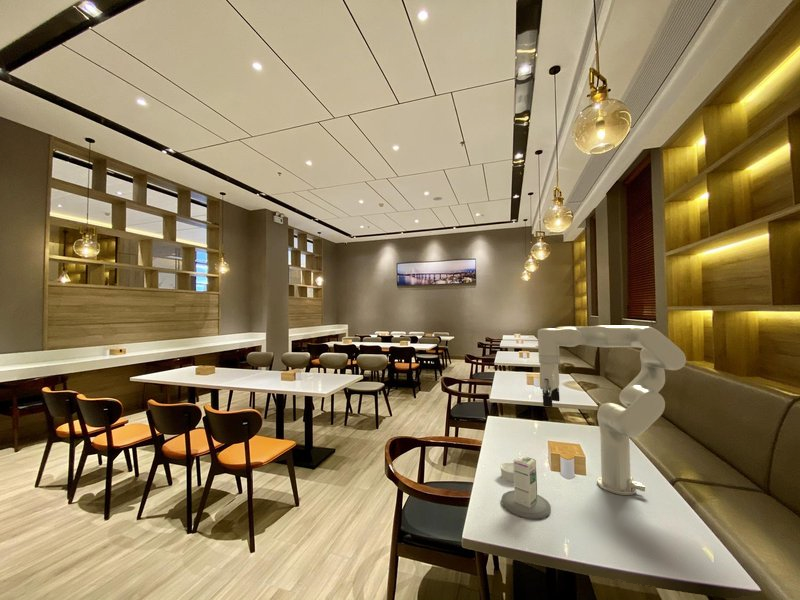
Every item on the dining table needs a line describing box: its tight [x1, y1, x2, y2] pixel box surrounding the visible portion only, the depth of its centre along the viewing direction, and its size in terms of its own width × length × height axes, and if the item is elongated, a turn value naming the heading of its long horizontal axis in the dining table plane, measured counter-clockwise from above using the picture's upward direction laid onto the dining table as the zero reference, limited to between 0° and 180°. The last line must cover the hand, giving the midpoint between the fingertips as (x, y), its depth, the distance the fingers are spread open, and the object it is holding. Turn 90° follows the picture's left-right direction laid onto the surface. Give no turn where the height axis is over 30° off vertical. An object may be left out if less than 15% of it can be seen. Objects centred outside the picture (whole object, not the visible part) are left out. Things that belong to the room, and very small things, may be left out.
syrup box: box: [513, 455, 538, 508], centre depth 116 cm, size 6×6×14 cm
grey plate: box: [501, 490, 552, 521], centre depth 115 cm, size 16×16×1 cm
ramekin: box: [499, 462, 514, 483], centre depth 135 cm, size 9×9×4 cm
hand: (551, 403), depth 130 cm, fingers open, 9 cm apart
